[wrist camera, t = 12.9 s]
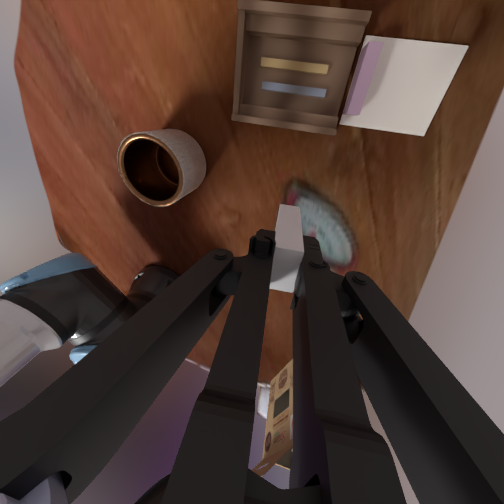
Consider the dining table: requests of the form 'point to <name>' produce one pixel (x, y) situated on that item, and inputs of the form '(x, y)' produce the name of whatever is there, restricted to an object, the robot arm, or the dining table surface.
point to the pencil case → (294, 63)
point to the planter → (161, 165)
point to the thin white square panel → (400, 84)
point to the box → (279, 423)
